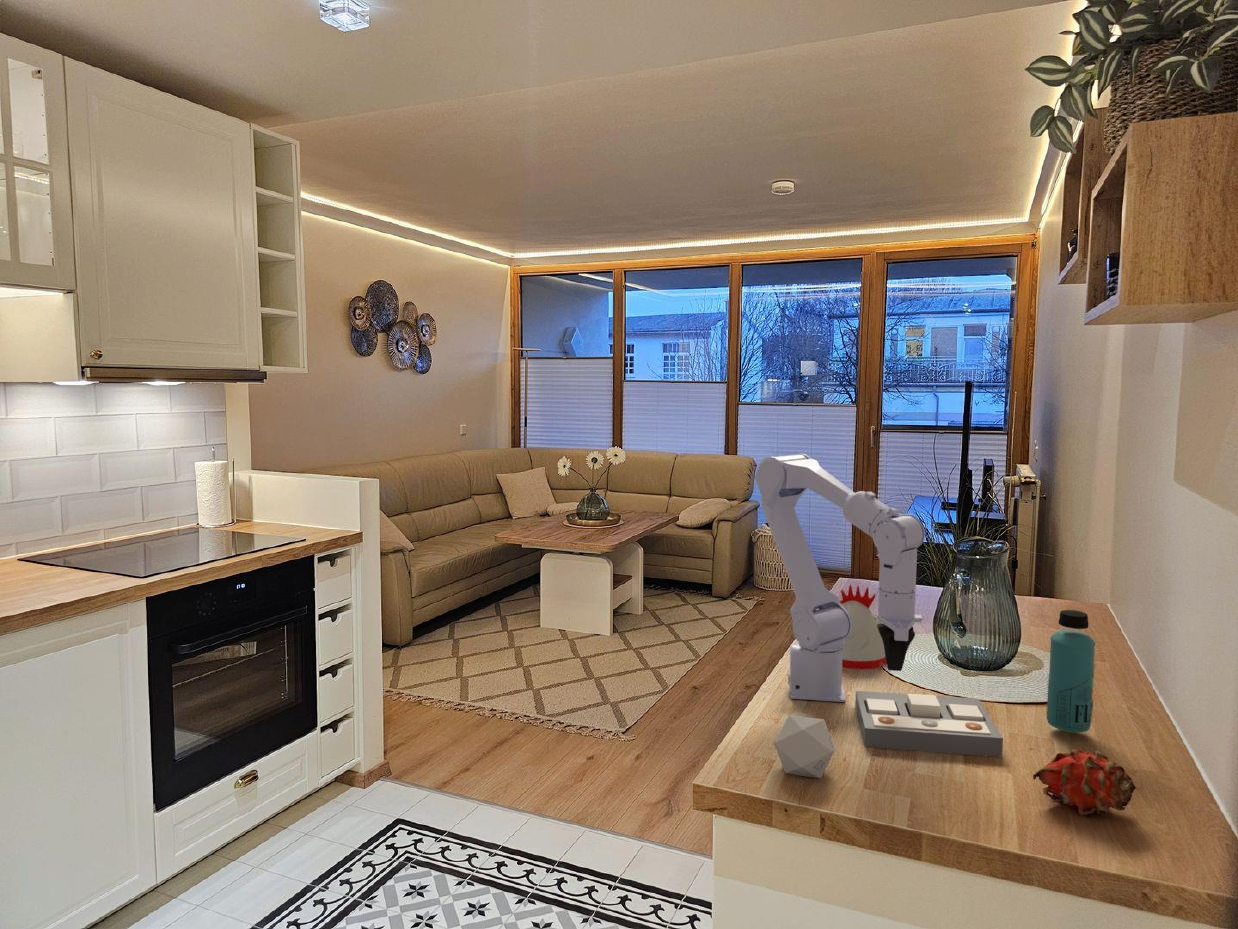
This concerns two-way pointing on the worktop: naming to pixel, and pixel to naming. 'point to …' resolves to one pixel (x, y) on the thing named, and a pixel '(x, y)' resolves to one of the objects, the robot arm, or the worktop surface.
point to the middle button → (923, 705)
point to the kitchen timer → (862, 633)
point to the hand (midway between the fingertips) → (894, 669)
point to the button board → (927, 728)
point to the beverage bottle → (1071, 675)
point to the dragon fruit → (1086, 782)
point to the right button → (965, 712)
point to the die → (804, 746)
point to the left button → (881, 706)
